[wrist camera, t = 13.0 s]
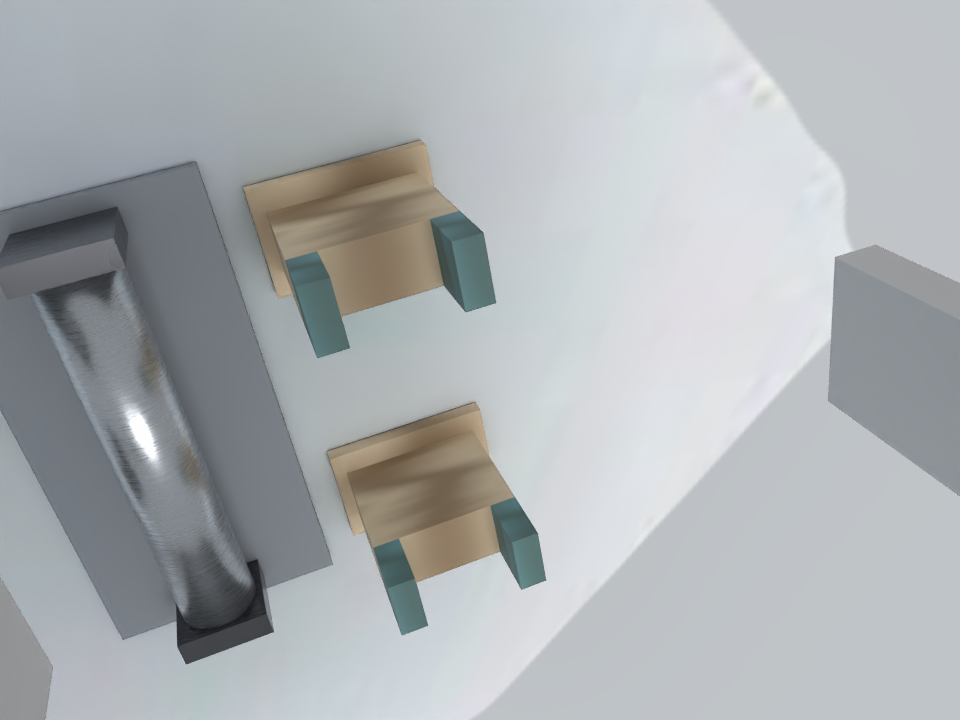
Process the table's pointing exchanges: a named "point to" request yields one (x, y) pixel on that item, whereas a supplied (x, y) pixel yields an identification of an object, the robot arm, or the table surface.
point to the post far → (433, 506)
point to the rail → (139, 423)
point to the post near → (366, 239)
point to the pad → (199, 384)
